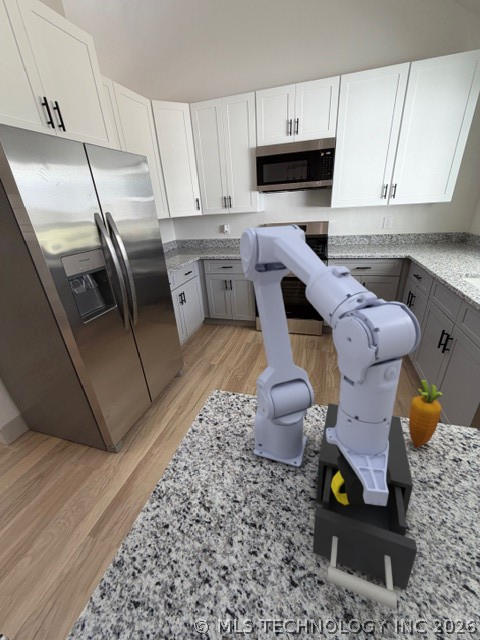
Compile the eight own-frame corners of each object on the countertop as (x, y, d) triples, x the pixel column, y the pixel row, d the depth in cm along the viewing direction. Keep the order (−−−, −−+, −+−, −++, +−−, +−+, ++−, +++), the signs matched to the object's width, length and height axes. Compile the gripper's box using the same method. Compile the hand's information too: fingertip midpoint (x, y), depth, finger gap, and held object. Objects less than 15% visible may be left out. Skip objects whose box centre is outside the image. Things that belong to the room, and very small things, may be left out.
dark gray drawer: (412, 644, 30) (426, 603, 27) (306, 595, 34) (308, 555, 31) (394, 493, 45) (402, 458, 43) (323, 473, 50) (326, 439, 47)
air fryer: (402, 532, 41) (413, 485, 37) (315, 503, 46) (318, 459, 42) (392, 456, 53) (400, 416, 50) (325, 440, 58) (328, 402, 55)
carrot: (436, 458, 52) (453, 393, 47) (407, 455, 53) (421, 390, 48) (425, 439, 57) (440, 377, 52) (399, 436, 58) (411, 375, 53)
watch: (336, 513, 35) (339, 480, 33) (327, 493, 38) (329, 461, 36) (379, 505, 36) (385, 472, 34) (367, 486, 39) (372, 454, 36)
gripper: (322, 371, 39) (317, 445, 44) (338, 452, 26) (329, 545, 30) (375, 374, 38) (364, 449, 43) (420, 460, 24) (397, 556, 29)
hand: (353, 490), depth 36 cm, fingers closed on watch, 2 cm apart
